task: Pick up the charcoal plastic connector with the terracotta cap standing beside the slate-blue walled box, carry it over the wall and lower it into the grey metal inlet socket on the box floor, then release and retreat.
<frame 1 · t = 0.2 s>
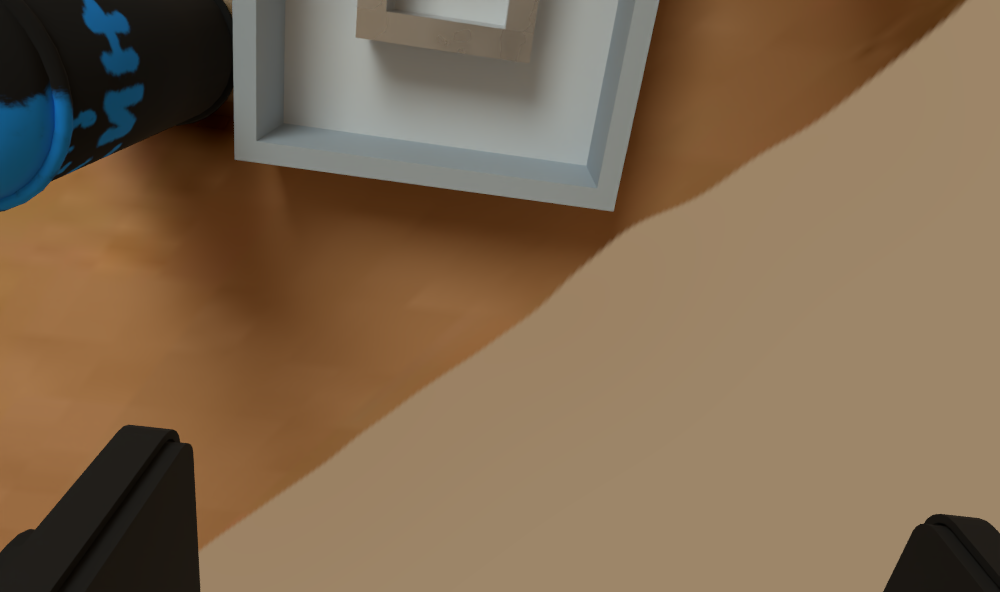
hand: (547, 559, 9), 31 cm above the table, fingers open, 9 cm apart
aerosol can: (161, 42, 36), on the table
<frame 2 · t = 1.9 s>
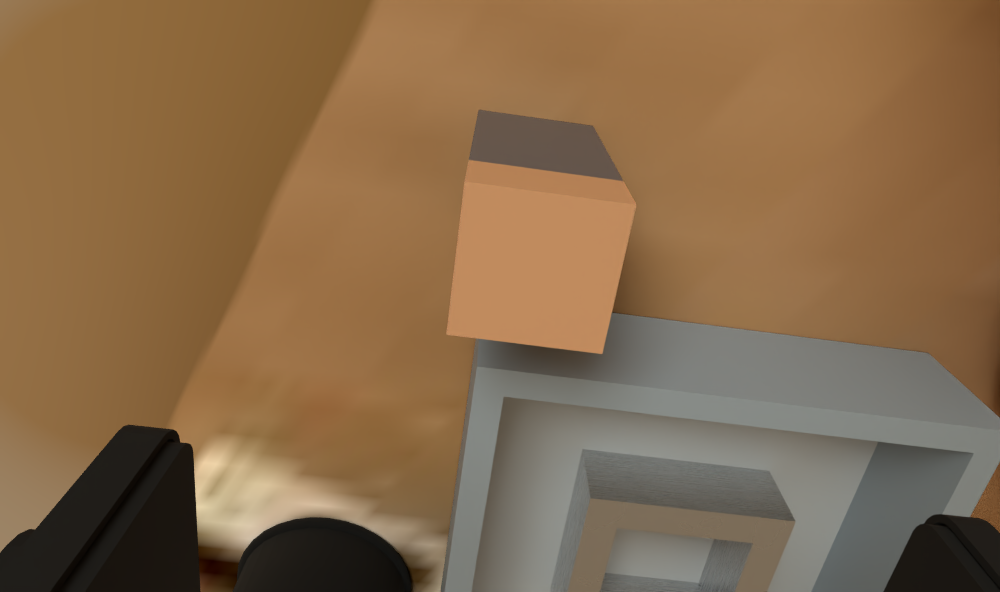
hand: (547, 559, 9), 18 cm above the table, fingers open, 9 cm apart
walled box: (651, 519, 32), on the table
aerosol can: (327, 578, 34), on the table
inlet: (654, 532, 31), resting on walled box
connector: (527, 173, 25), on the table
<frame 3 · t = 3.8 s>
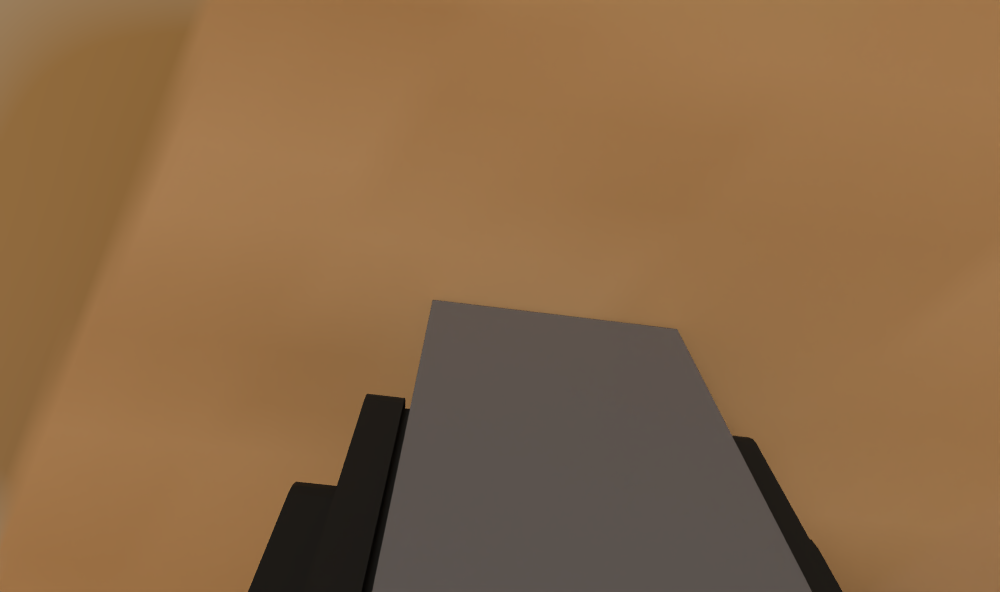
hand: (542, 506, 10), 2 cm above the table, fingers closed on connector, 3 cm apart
connector: (537, 418, 12), on the table, touching gripper
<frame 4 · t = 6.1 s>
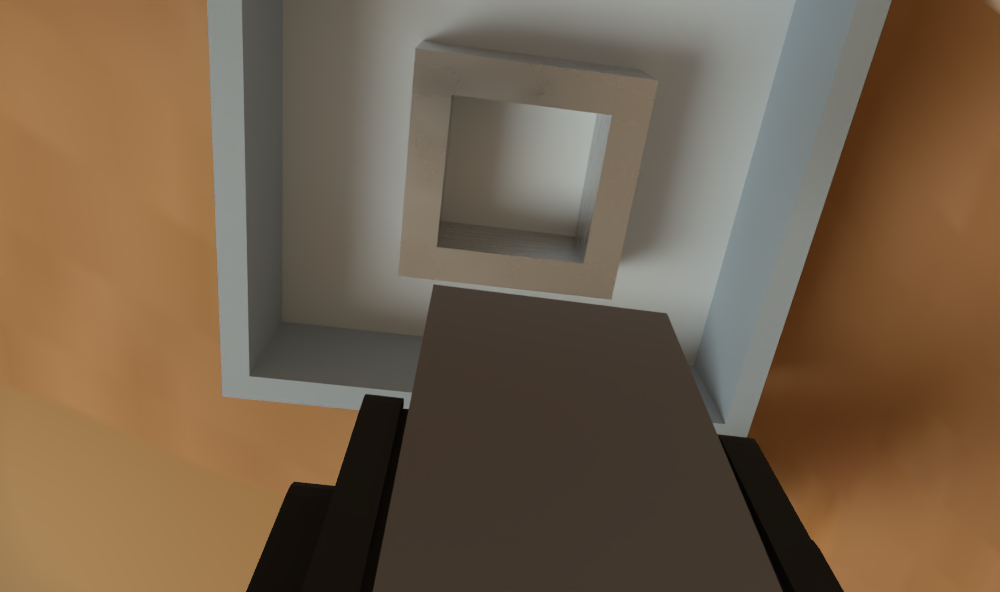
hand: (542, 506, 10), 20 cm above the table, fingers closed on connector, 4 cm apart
walled box: (516, 158, 28), on the table
inlet: (517, 162, 27), resting on walled box
connector: (532, 394, 13), point 17 cm above the table, touching gripper
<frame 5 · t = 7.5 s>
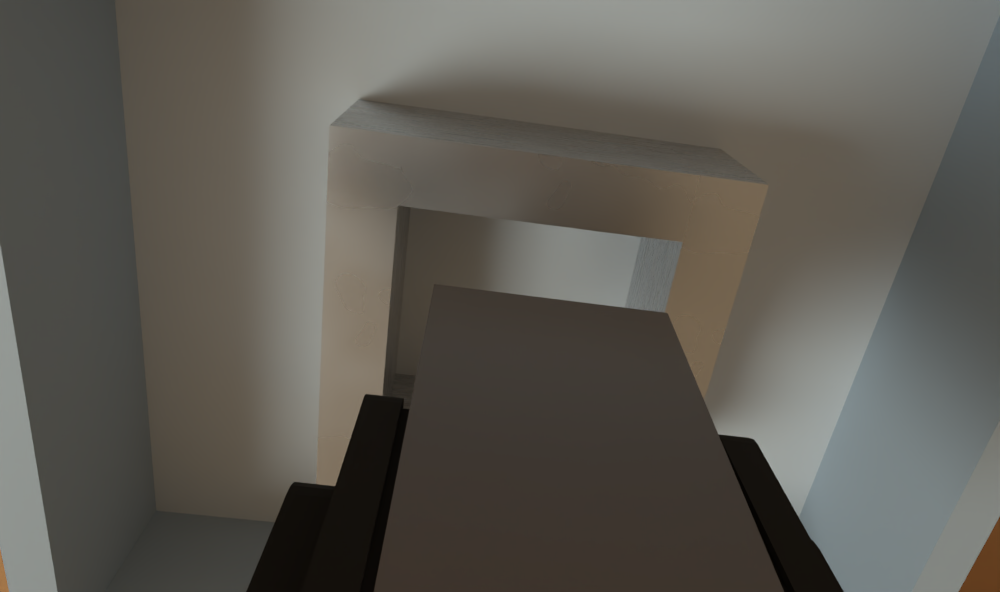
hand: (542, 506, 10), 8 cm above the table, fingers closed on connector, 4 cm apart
walled box: (515, 277, 18), on the table
inlet: (516, 290, 17), resting on walled box
connector: (533, 394, 13), point 5 cm above the table, touching gripper
when the fingers open (4 cm above the table, at t = 8.5 s): connector stays where it is, resting on walled box.
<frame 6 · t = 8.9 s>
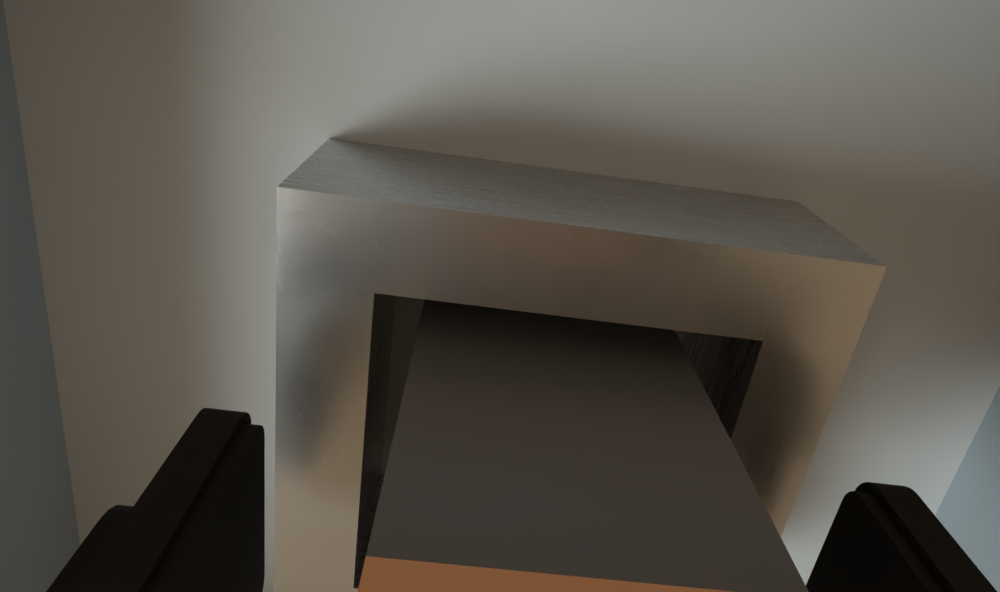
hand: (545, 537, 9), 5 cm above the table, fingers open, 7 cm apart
walled box: (529, 354, 14), on the table
inlet: (531, 374, 13), resting on walled box
connector: (528, 372, 13), point 1 cm above the table, touching walled box
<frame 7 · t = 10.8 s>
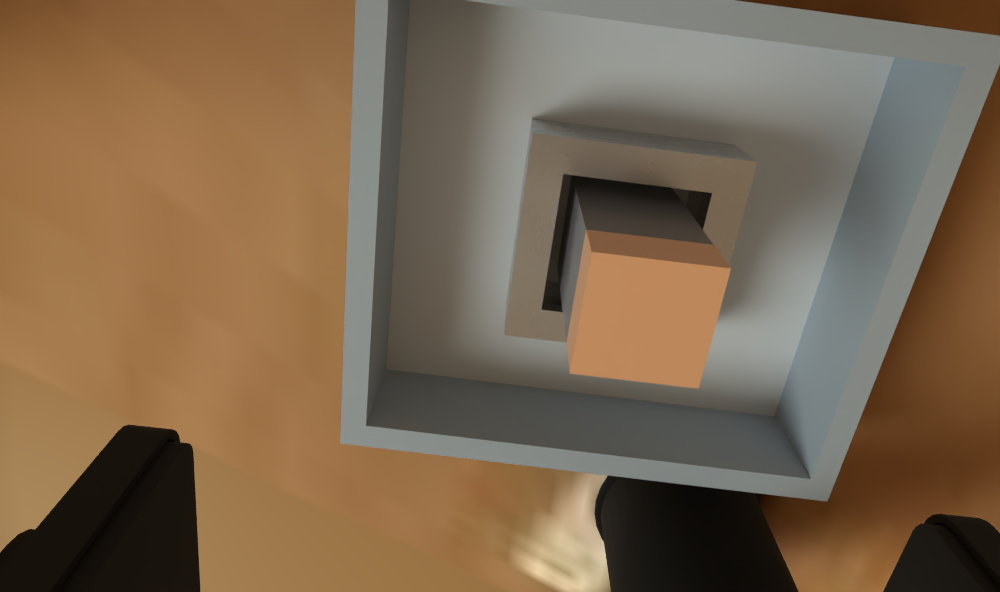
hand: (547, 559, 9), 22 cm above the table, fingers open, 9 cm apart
walled box: (611, 222, 30), on the table
aerosol can: (674, 504, 36), on the table
inlet: (614, 228, 29), resting on walled box
connector: (612, 227, 29), point 1 cm above the table, touching walled box
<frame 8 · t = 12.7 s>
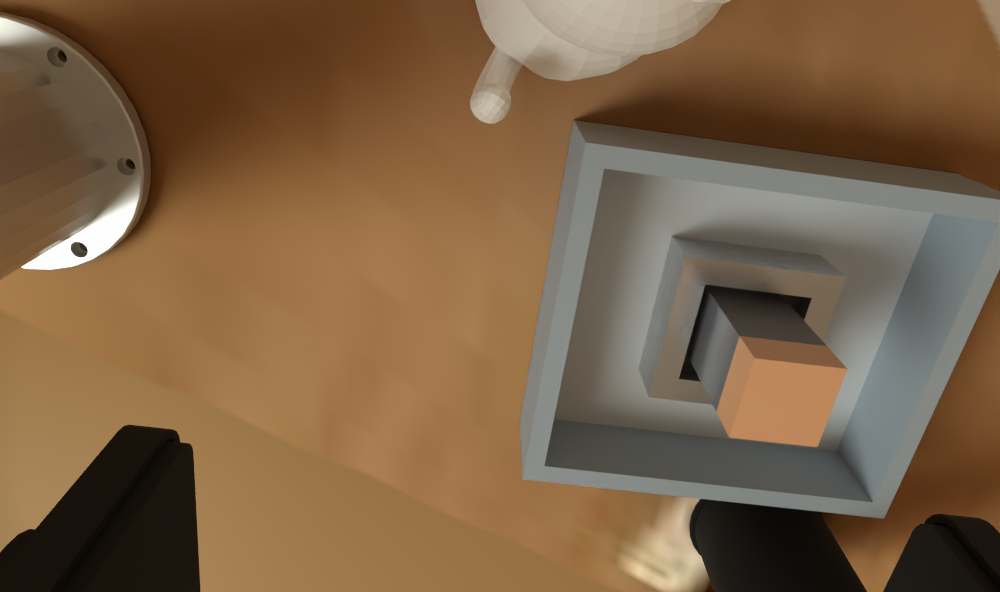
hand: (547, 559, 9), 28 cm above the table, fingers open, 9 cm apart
walled box: (721, 307, 39), on the table
aerosol can: (751, 518, 45), on the table
inlet: (726, 313, 38), resting on walled box
connector: (724, 313, 38), point 1 cm above the table, touching walled box
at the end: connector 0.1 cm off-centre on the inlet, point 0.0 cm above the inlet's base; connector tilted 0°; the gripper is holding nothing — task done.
